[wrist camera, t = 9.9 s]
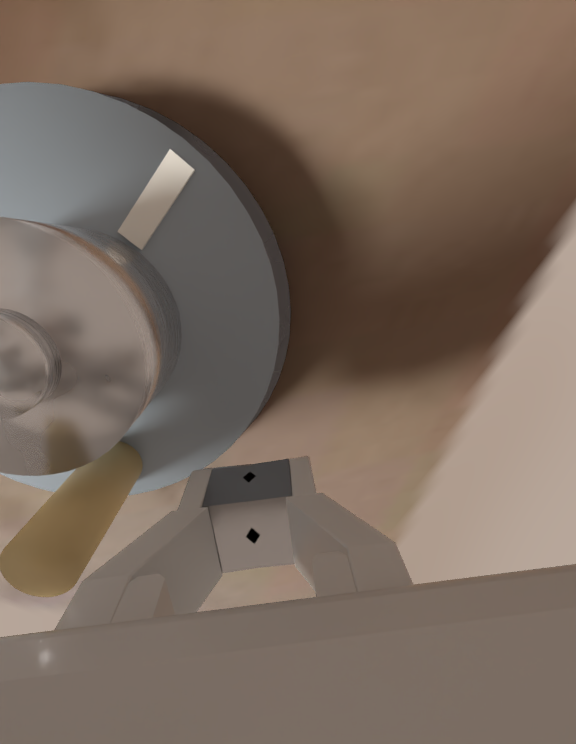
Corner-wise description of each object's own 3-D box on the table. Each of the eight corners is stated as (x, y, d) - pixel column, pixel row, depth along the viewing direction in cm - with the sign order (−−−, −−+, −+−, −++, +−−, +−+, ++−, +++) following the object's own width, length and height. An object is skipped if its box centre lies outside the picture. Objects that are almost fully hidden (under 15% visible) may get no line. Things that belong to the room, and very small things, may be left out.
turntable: (124, 3, 9) (-56, -306, 4) (342, 373, 12) (391, 454, 7) (-194, 252, 10) (-624, 250, 5) (76, 525, 14) (-36, 683, 9)
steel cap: (99, 185, 9) (-13, 140, 5) (218, 357, 11) (191, 411, 7) (-57, 295, 10) (-252, 320, 6) (76, 443, 11) (-17, 534, 8)
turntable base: (144, 9, 10) (132, -16, 9) (350, 365, 13) (356, 374, 12) (-164, 248, 11) (-204, 247, 11) (91, 514, 15) (79, 532, 14)
